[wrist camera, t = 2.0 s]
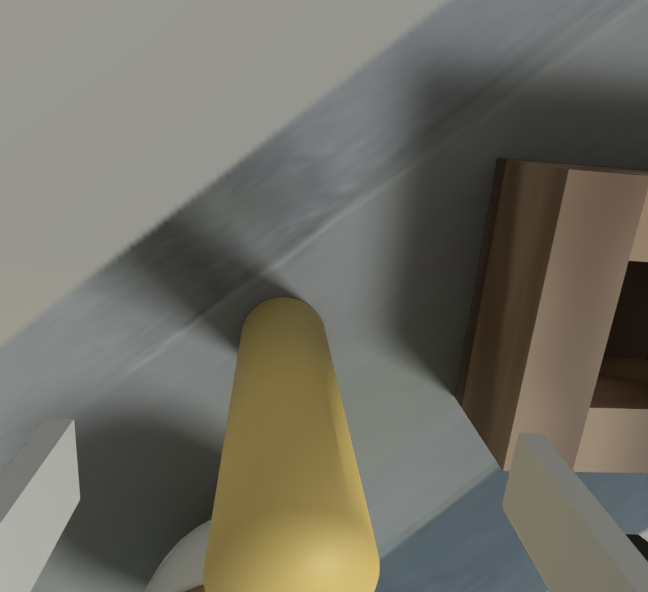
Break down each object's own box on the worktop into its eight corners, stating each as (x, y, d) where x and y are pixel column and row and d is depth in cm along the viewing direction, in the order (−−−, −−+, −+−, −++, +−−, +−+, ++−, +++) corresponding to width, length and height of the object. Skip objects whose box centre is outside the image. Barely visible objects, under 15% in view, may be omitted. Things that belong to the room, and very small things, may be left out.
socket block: (455, 397, 27) (503, 470, 21) (497, 157, 23) (568, 169, 18) (669, 403, 28) (768, 474, 23) (741, 177, 25) (881, 194, 19)
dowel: (239, 373, 26) (201, 642, 12) (242, 294, 24) (203, 501, 11) (321, 375, 26) (370, 638, 13) (328, 299, 25) (389, 502, 12)
